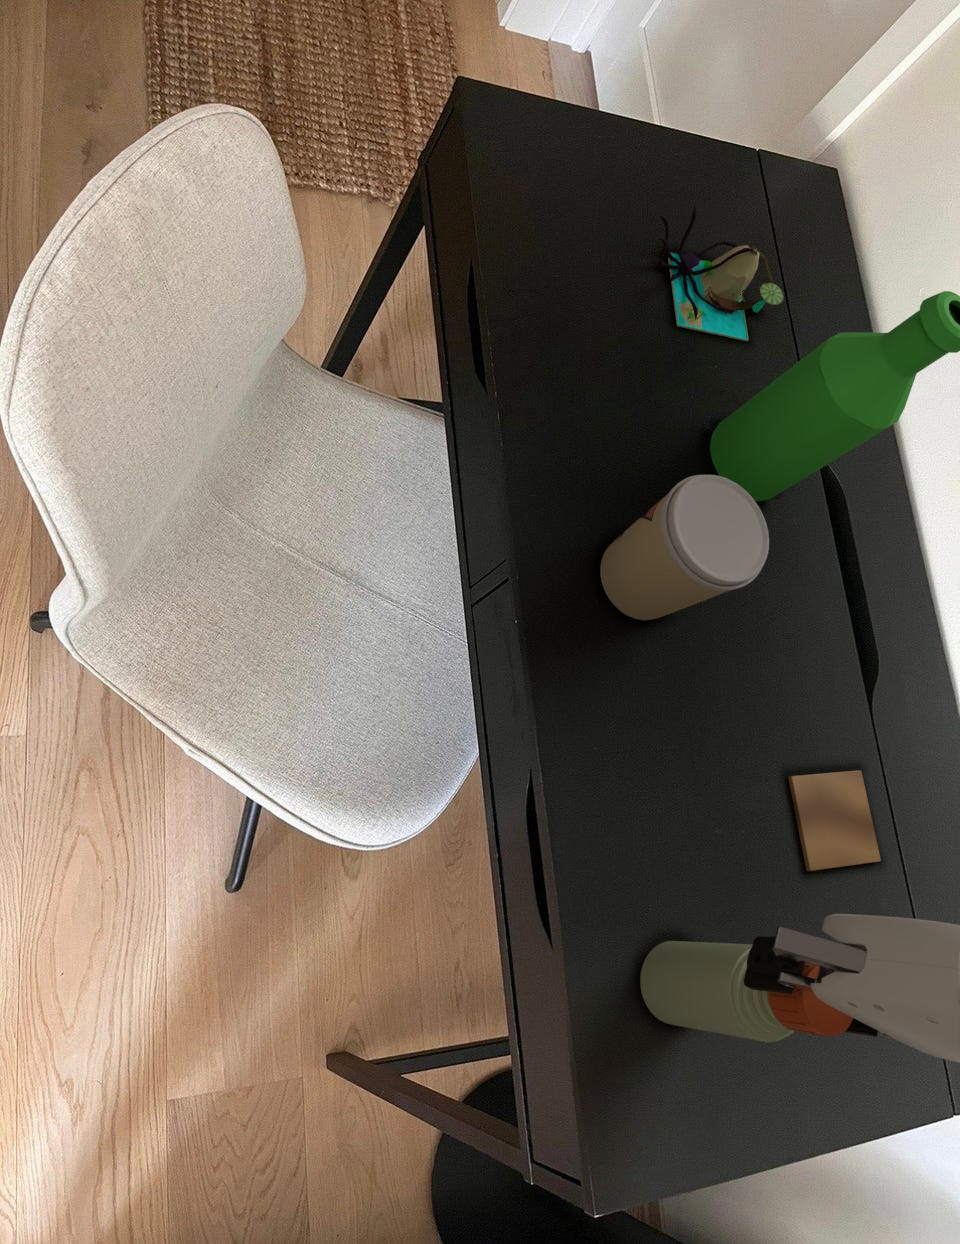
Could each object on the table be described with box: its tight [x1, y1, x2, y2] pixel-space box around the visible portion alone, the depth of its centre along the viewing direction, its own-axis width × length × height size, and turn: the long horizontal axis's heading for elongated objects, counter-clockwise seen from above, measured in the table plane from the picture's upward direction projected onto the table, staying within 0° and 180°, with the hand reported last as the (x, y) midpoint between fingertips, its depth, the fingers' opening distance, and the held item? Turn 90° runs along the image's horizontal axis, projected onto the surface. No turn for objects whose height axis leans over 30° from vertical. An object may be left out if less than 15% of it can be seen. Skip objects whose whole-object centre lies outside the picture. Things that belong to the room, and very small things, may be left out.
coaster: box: [787, 769, 882, 872], centre depth 81 cm, size 8×8×1 cm
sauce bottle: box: [639, 940, 796, 1043], centre depth 64 cm, size 6×6×16 cm
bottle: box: [709, 290, 960, 502], centre depth 78 cm, size 9×9×25 cm
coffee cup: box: [599, 474, 770, 621], centre depth 75 cm, size 9×9×12 cm
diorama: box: [658, 206, 784, 342], centre depth 91 cm, size 11×15×6 cm
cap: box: [768, 961, 853, 1037], centre depth 57 cm, size 4×4×3 cm
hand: (794, 983), depth 59 cm, fingers open, 5 cm apart
